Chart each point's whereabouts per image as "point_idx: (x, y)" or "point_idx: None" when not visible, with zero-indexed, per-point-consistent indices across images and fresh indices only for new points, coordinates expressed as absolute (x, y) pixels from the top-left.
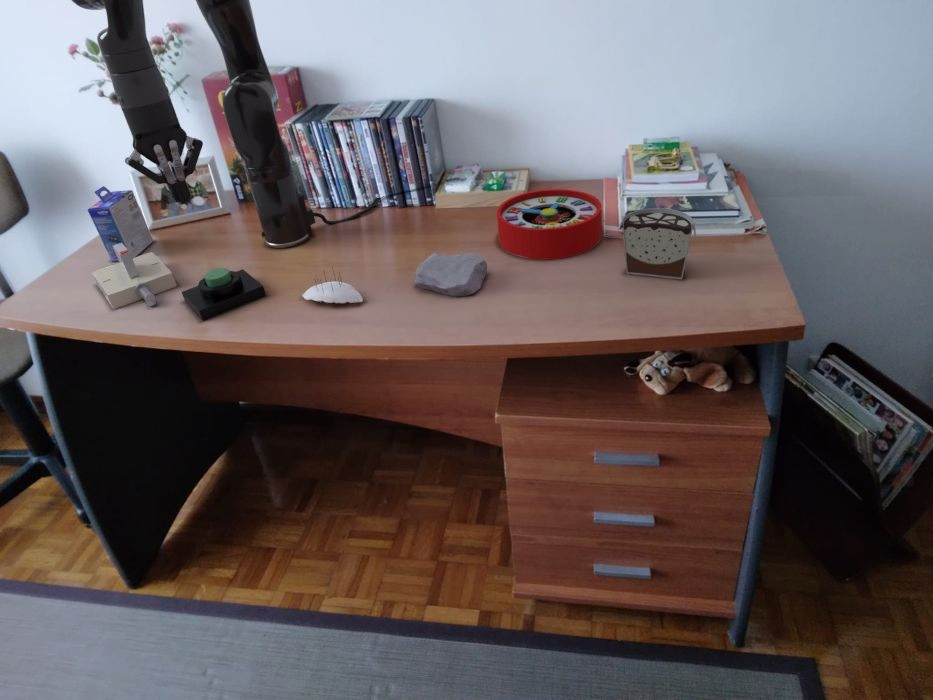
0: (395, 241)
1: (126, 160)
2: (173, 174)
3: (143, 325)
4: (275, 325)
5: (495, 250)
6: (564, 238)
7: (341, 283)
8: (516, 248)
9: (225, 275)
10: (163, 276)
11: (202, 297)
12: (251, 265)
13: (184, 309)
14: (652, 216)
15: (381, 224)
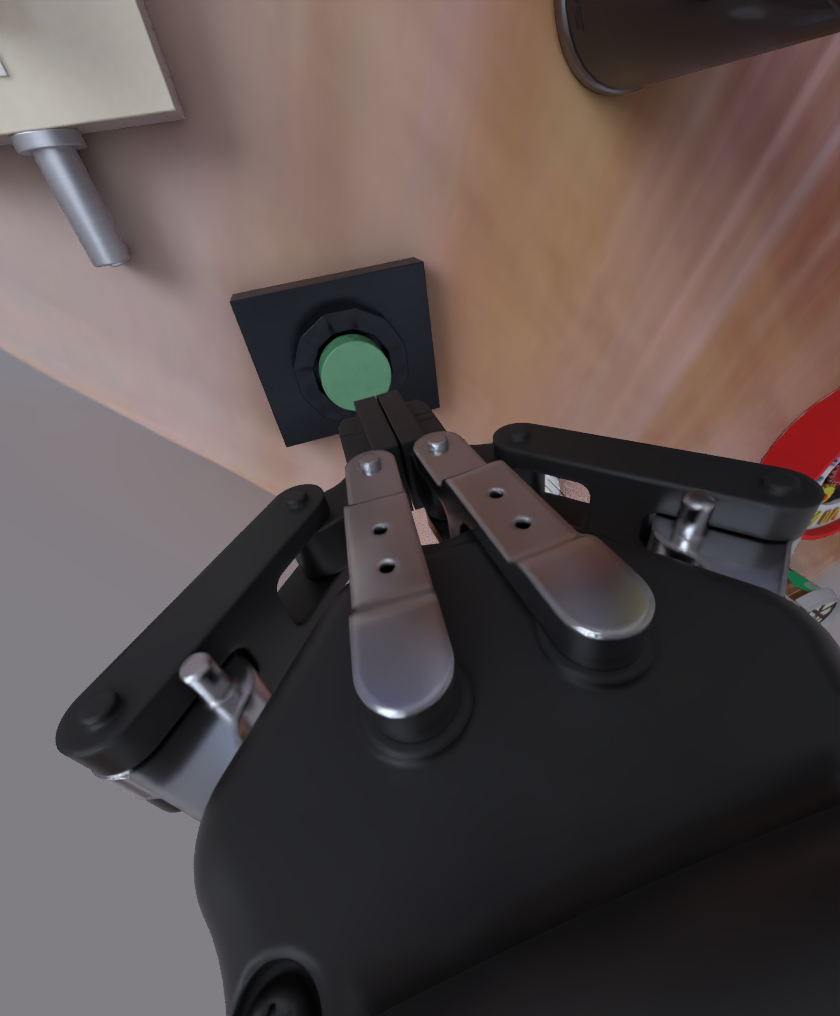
0: (739, 300)
1: (100, 775)
2: (421, 469)
3: (117, 369)
4: (414, 511)
5: (758, 451)
6: None
7: (551, 490)
8: None
9: None
10: (137, 116)
11: (296, 381)
12: (452, 146)
13: (233, 341)
14: (826, 604)
15: (817, 146)
